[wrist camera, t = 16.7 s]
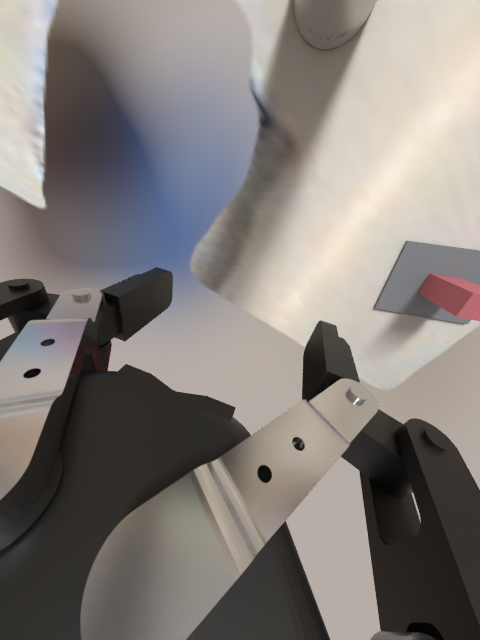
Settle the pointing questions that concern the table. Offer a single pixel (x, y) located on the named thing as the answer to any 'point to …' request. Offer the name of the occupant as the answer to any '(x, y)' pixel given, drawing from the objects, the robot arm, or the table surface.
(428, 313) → the rubber mat
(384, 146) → the table surface
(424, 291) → the card box
